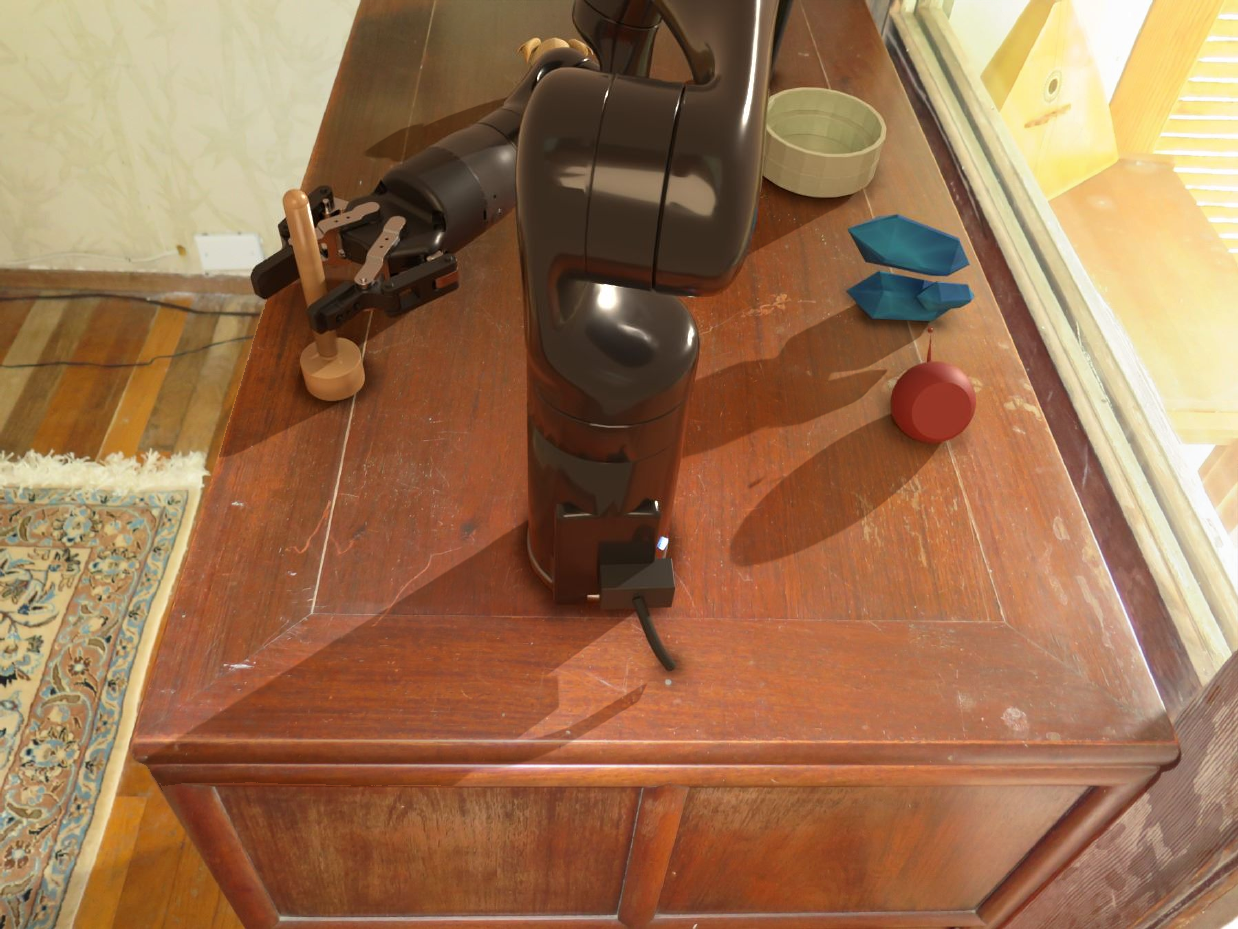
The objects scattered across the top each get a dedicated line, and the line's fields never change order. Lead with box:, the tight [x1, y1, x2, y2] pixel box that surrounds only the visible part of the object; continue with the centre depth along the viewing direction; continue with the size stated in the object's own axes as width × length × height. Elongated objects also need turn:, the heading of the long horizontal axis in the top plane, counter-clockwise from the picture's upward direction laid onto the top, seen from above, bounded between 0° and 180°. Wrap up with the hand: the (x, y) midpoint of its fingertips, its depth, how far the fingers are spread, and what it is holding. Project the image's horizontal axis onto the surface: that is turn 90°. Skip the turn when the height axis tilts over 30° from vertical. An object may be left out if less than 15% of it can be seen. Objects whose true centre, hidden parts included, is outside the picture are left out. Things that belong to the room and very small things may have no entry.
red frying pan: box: [890, 327, 977, 444], centre depth 75 cm, size 6×6×8 cm
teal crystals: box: [845, 213, 975, 322], centre depth 82 cm, size 7×9×12 cm
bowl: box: [762, 86, 887, 198], centre depth 96 cm, size 12×12×5 cm
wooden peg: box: [282, 188, 366, 402], centre depth 69 cm, size 4×4×17 cm
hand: (285, 304), depth 67 cm, fingers open, 5 cm apart
